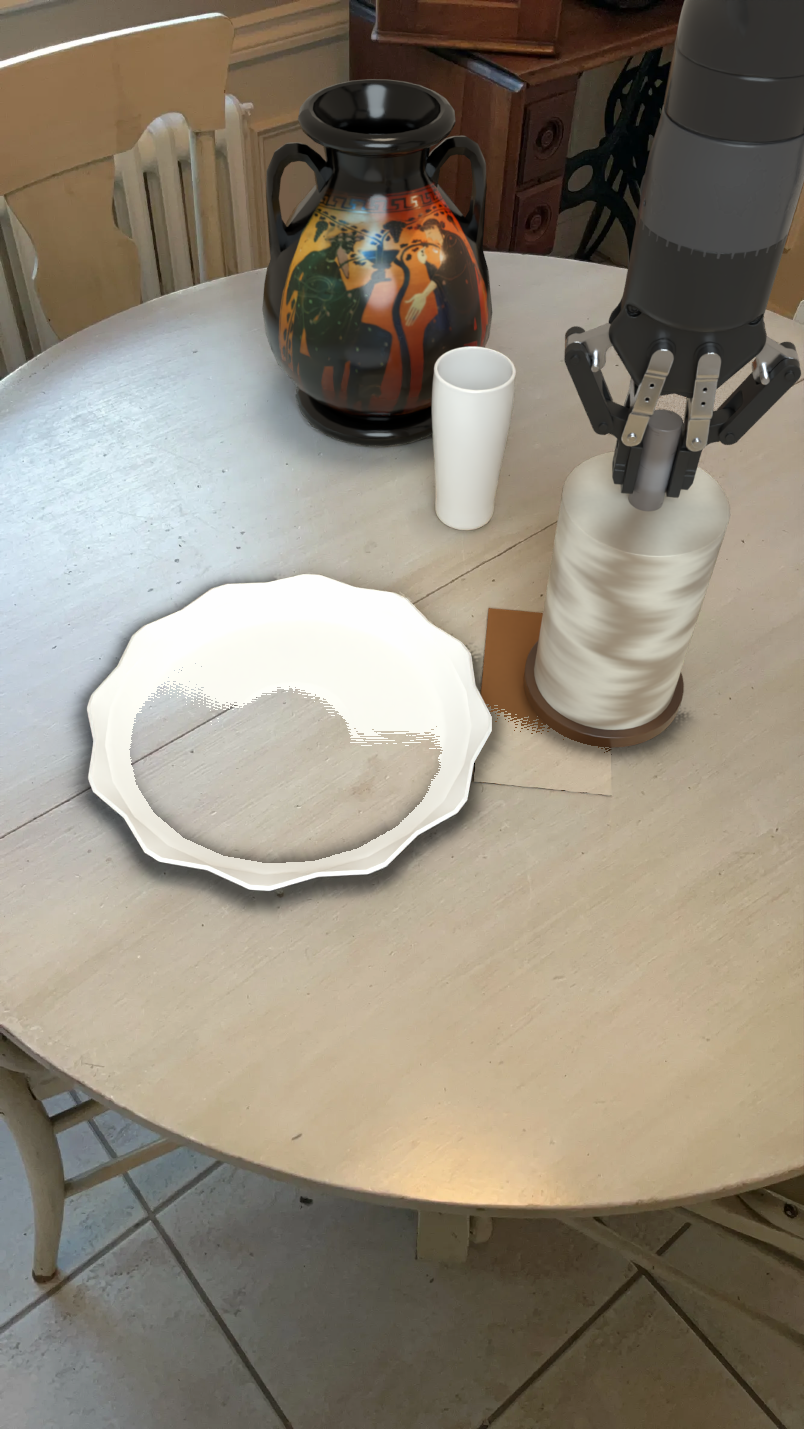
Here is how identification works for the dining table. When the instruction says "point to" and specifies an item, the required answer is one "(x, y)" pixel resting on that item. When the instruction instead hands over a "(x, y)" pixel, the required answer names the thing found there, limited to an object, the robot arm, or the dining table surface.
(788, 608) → the dining table surface
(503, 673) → the cork mat
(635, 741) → the towel holder
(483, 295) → the amphora vase
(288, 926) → the dining table surface
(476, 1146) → the dining table surface
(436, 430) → the drinking glass
